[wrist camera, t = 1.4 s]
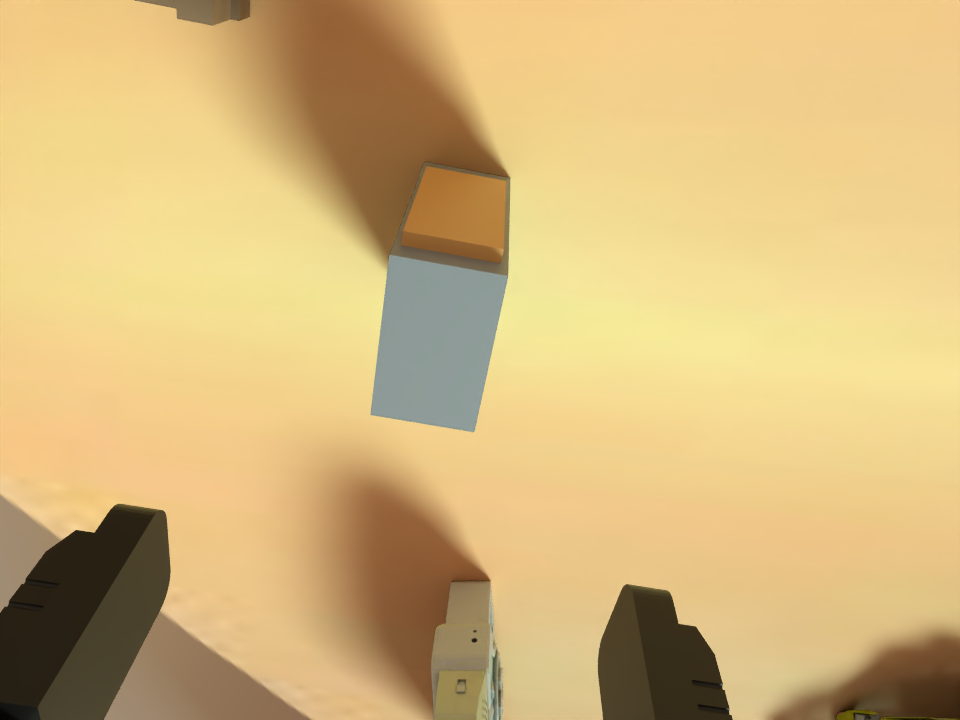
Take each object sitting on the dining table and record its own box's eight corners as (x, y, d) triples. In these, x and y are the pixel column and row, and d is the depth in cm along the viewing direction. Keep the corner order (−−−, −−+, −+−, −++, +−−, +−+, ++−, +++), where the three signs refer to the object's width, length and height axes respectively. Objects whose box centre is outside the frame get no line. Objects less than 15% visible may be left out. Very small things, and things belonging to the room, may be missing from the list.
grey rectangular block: (425, 150, 24) (391, 240, 18) (512, 166, 25) (511, 261, 18) (406, 290, 27) (370, 414, 20) (484, 304, 27) (474, 432, 21)
